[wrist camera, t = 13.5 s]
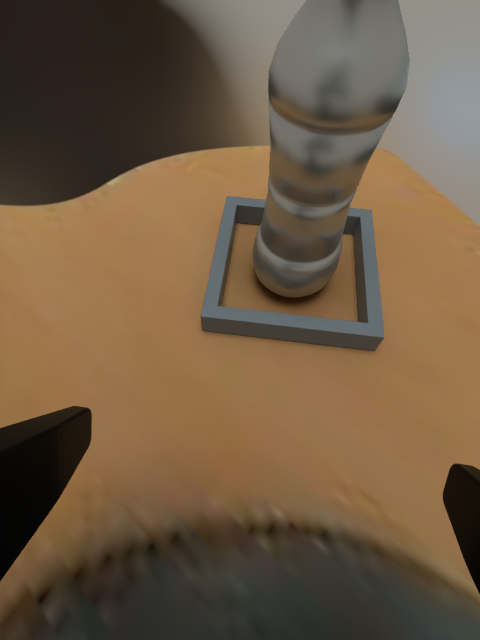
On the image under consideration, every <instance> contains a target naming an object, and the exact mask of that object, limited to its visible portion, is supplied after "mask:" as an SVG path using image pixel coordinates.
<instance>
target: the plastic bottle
mask: <svg viewBox="0 0 480 640" xmlns="http://www.w3.org/2000/svg"><path fill="white" fill-rule="evenodd" d="M409 62H410V60H409V53H408V46H407V39H406V32H405V27H404V23H403V19H402V15H401V11H400V7H399V3H398V0H306V2H305V3H304V4H303V6H302V7H301V9H300V10H299V11H298V12H297V14H296V15H295V16H294V18H293V19H292V21H291V22H290V24H289V26H288V27H287V29H286V31H285V32H284V34H283V36H282V37H281V39H280V40H279V42H278V44H277V47H276V50H275V53H274V56H273V59H272V62H271V65H270V68H269V79H268V95H269V122H270V123H269V124H270V163H269V181H268V193H267V198H266V203H265V208H264V213H263V217H262V222H261V224H260V227H259V229H258V232H257V235H256V239H255V243H254V247H253V262H254V269H255V272H256V275H257V277H258V279H259V280H260V282H261V283H262V284H263V285H264V286H265V287H266V288H268V289H269V290H271V291H272V292H273V293H276V294H278V295H280V296H284V297H290V298H298V297H303V296H307V295H310V294H313V293H315V292H317V291H319V290H320V289H322V288H323V287H324V286H325V285H326V284H327V282H328V281H329V279H330V278H331V276H332V275H333V273H334V272H335V270H336V269H337V266H338V262H339V258H340V253H341V246H342V235H343V231H344V227H345V223H346V219H347V215H348V212H349V208H350V204H351V201H352V199H353V197H354V194H355V192H356V189H357V186H358V185H359V182H360V180H361V178H362V175H363V173H364V171H365V168H366V166H367V164H368V161H369V160H370V158H371V156H372V154H373V152H374V150H375V148H376V147H377V145H378V143H379V141H380V139H381V137H382V135H383V133H384V132H385V129H386V128H387V126H388V124H389V122H390V120H391V119H392V116H393V114H394V112H395V111H396V109H397V107H398V105H399V102H400V100H401V98H402V96H403V94H404V92H405V89H406V85H407V78H408V70H409Z"/></svg>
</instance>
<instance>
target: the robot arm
mask: <svg viewBox="0 0 480 640" xmlns="http://www.w3.org/2000/svg"><path fill="white" fill-rule="evenodd" d="M91 422H92V414H91V410H90V409H89V408H86V407H79V406H72V407H69V408H65V409H62V410H59V411H55V412H52V413H49V414H46V415H42V416H39V417H36V418H32V419H29V420H26V421H22V422H19V423H16V424H12V425H9V426H6V427H2V428H0V581H1V580H2V578H3V577H4V575H5V574H6V573H7V571H8V570H9V568H10V567H11V566H12V564H13V563H14V561H15V560H16V559H17V557H18V556H19V554H20V553H21V551H22V550H23V549H24V547H25V546H26V544H27V543H28V542H29V540H30V539H31V537H32V536H33V535H34V533H35V532H36V530H37V529H38V528H39V526H40V525H41V523H42V522H43V521H44V519H45V518H46V516H47V515H48V514H49V512H50V511H51V509H52V508H53V507H54V505H55V504H56V502H57V501H58V499H59V497H60V496H61V494H62V493H63V491H64V489H65V487H66V486H67V484H68V482H69V480H70V479H71V477H72V475H73V473H74V472H75V470H76V468H77V466H78V465H79V463H80V461H81V459H82V458H83V456H84V454H85V452H86V451H87V449H88V447H89V445H90V441H91ZM443 502H444V505H445V508H446V511H447V514H448V516H449V519H450V522H451V524H452V527H453V530H454V533H455V535H456V538H457V541H458V544H459V546H460V549H461V552H462V555H463V557H464V560H465V562H466V565H467V567H468V570H469V572H470V574H471V577H472V579H473V581H474V583H475V585H476V587H477V589H478V592H479V594H480V470H479V469H477V468H475V467H473V466H470V465H464V464H453V465H452V466H451V468H450V470H449V474H448V477H447V480H446V484H445V487H444V491H443Z"/></svg>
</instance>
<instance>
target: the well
mask: <svg viewBox="0 0 480 640" xmlns="http://www.w3.org/2000/svg"><path fill="white" fill-rule="evenodd" d="M265 203H266V200H262V199H251V198H241V197H231V196H227V198H226V202H225V207H224V211H223V216H222V221H221V225H220V230H219V234H218V239H217V244H216V248H215V253H214V257H213V262H212V267H211V271H210V276H209V280H208V285H207V290H206V294H205V299H204V303H203V308H202V313H201V322H202V328H203V331H209V332H218V333H226V334H235V335H243V336H252V337H260V338H269V339H277V340H286V341H294V342H303V343H311V344H320V345H329V346H337V347H346V348H354V349H363V350H371V351H375V349H376V348H377V347H378V345H379V344H380V343H381V341H382V340H383V339H384V329H383V319H382V309H381V299H380V289H379V279H378V269H377V259H376V249H375V239H374V229H373V219H372V210H365V209H355V208H349V212H348V215H347V219H346V223H345V227H344V231H343V233H345V234H354V250H355V267H356V285H357V302H358V319H359V322H354V321H345V320H336V319H327V318H318V317H310V316H301V315H292V314H283V313H274V312H266V311H257V310H248V309H239V308H230V307H222V306H221V304H222V298H223V293H224V288H225V282H226V277H227V271H228V266H229V261H230V255H231V250H232V244H233V239H234V234H235V228H236V223H245V224H255V225H260V224H261V222H262V217H263V213H264V208H265Z"/></svg>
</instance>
